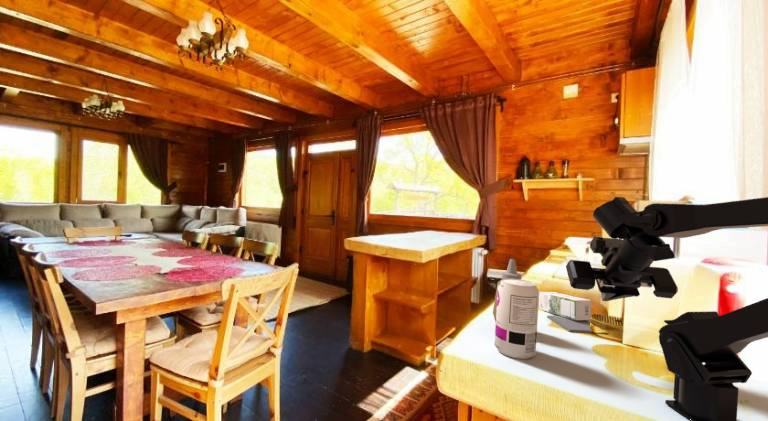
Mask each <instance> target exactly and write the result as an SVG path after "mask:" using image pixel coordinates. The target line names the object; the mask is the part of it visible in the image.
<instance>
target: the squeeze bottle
mask: <svg viewBox="0 0 768 421" xmlns="http://www.w3.org/2000/svg"><path fill="white" fill-rule="evenodd" d="M502 279H520V280H522V274H521V273H518V270H517V264H516V259H514V258H510V259H509V261H508V265H507V269H506V271H502V272H501V279H500V280H499V281H497V284H496V290H495V295H494V296H495V297H494V303H493V310H492V315H493V318H494V321H495V324H496V311H497V293H498V286H499V284H500V283H501V280H502Z"/></svg>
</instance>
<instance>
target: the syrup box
mask: <svg viewBox="0 0 768 421" xmlns="http://www.w3.org/2000/svg"><path fill="white" fill-rule="evenodd" d="M540 309H541V310H540ZM538 310H540V311H543V310H544V311H543V312H547V313H550V314H553V315H555V316H563V317H566V318H569V319H573V320H587V321H591V320H590V318H592V300H591V299H588V298H582V297H577V296H572V295H569V294H566V293H565V294H564V293H560V292H555V291H539V303H538Z"/></svg>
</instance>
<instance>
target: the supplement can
mask: <svg viewBox="0 0 768 421" xmlns="http://www.w3.org/2000/svg"><path fill="white" fill-rule="evenodd" d="M500 280H501V283H500V284H499V286H498V293H497V311H496V323H495V331H494V347H495V348H496V349H497V351H498V352H499V353H501V355H505V356H506V357H510V358H512V359H519V360H527V359H531V358H532V357H534V356H535V355H536V352H537V337H538V336H537V335H538V319H539V318H538V317H539V292H540V291H539V289H538V287H537V283H535V282H532V281H529V280H525V279H521V280H520V279H502V278H501V279H500Z"/></svg>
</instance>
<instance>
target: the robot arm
mask: <svg viewBox="0 0 768 421" xmlns="http://www.w3.org/2000/svg"><path fill="white" fill-rule="evenodd" d="M592 217H593V218H594V220H595V221H596V223H598V225H599V226H600V227H601V228H602V229H603V231H604V232H605V233H606V234H607V235H608V237H601V236H593V238H592V239H591V241H590V244H589V248H590V250H591V251H592V253H594V254H599V255H600V256H601V257H602V259H601V260H600V262H601V265H602V266H603V267H605V268H601V267H592V264H591V262H590V261H587V260H577V259H569V261H568V262H567V264H566V266H565V269H566V273H567V277H568V281H569V284H570V285H569V286H570V287H571V288H573V289H575V290H576V289H577V290H582V291H583V290H585V291H590V290H591V289H594V288H595V286H596V284H597V288H598V291H599V292H600V296H601V297H600V298H601V301H602V302H609V301H616V300H619V299H625V298H631V297H635V298H636V297H637V298H638V297H639V296H640V290H639V288H641V287H643V288H652V287H653V288H654V289H653V291H652V294H653V295H654V296H655V297H656V298H662V299H673V297H674V296H675V295H676V294H678V292H679V288H678V285H677V283H676V281H675V280H674V278H673V275H672V274H671V272H670V270H669V269H668V268H665V267H659V266H652V264H653V263H654V262H658V261H665V260H673V259H675V258H676V256H675V252H674V251H673V250H672V248H671V244H669V243H666V242H665V241H664V240H663V239H662V238H675V239H677V238H678V239H685V238H692V237H696V236H701V235H706V234H708V233H711V232H714V231H718V230H723V229H724V230H725V229H741V228H743V229H744V228H758V227H759V228H761V227H762V228H763V227H768V196H765V197H758V198H752V199H751V198H749V199H741V200H734V201H725V202H715V203H708V204H687V203H660V202H659V203H656V202H654V203H649V204H648V205H646V206H644V209H643V210H640V211H637V210H636V209H635V208H634V207H633V206H632V205H631V204H630V202H629V201H628V200H627V198H626V197H625V196H623V197H622V196H615V197H614V198H613V199H612V200H610V201H607V202H605V203H602V204H600V205H599V206H597V207H596V208H595V209H594V211H593V213H592ZM609 237H610V238H609ZM663 322H664V323H665V325H663V326H662V327H660V329H659V330H658V333H659V335H658V340H659V344H660V347H661V350H662V353H663V356H664V357H663V358H664V359H665V360H664V361H665V364H666V367H667V370H668V371H669V372H671V373H673V374H674V381H673V382H674V383H673V384H674V385H673V399H672V400H671V399H666V400H665V405H667V407H670V408H671V409H673V410H674V411H676V412H677V413H679V414H680V415H681V416H683V417H685V418H686V419H688V420H689V419H691V420H692V421H737V418H738V405H739V404H738V402H739V387H737V386H735V385H734V384H738V383H741V384H746V383H747V382H748V380H749V379H750V378H751V376H752V374H753V371H752V370H751V369H750V368H749V367H748V366H747V365H746V363H745V362H744V361H743V360H742V359H741V357H740V356H739V355H738V354H740V353H741V352H742V351H743V350H744V349H745V348H746V347H747V346H748V345H749V344H751V343H753V342H756V341H759V340H764V339H766V338H767V339H768V297H766V298H764V299H761V300H758V301H757V302H754V303H751V304H748V305H746V306H743V307H740V308H737V309H735V310H732V311H729V312H726V313H724V314H721V315H719V313H718V311H713V310H712V311H687V312H684V313H682V314H680V315H679V316H677V317H676V318H674V319H664V321H663ZM691 420H690V421H691Z"/></svg>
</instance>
